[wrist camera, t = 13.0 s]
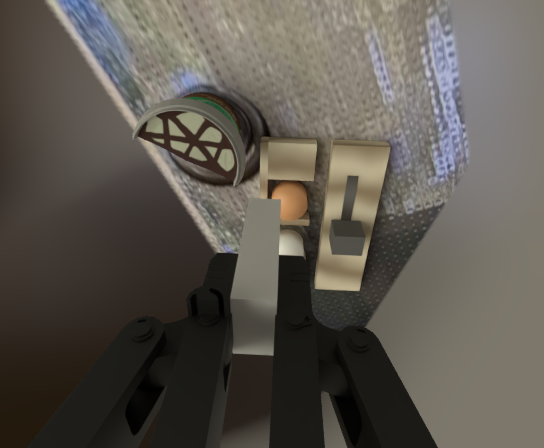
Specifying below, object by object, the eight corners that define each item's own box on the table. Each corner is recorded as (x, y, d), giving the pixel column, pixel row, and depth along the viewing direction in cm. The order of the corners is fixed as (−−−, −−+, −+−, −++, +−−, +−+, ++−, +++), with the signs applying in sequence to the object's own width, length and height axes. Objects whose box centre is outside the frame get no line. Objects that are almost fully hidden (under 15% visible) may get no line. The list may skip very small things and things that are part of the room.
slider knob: (331, 219, 49) (334, 236, 46) (360, 220, 49) (365, 237, 46) (328, 237, 51) (331, 254, 47) (356, 238, 51) (361, 256, 47)
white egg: (270, 228, 50) (269, 239, 48) (304, 229, 50) (305, 241, 48) (269, 255, 53) (268, 267, 50) (301, 256, 53) (302, 268, 50)
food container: (268, 112, 43) (264, 140, 35) (247, 153, 47) (238, 189, 38) (173, 61, 41) (143, 79, 32) (157, 109, 44) (127, 136, 35)
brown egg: (272, 178, 48) (271, 188, 45) (307, 180, 48) (309, 190, 45) (271, 209, 50) (270, 219, 48) (305, 210, 50) (306, 221, 48)
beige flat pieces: (261, 136, 45) (260, 142, 43) (387, 141, 45) (391, 147, 43) (259, 277, 58) (258, 286, 57) (357, 282, 58) (359, 291, 56)
